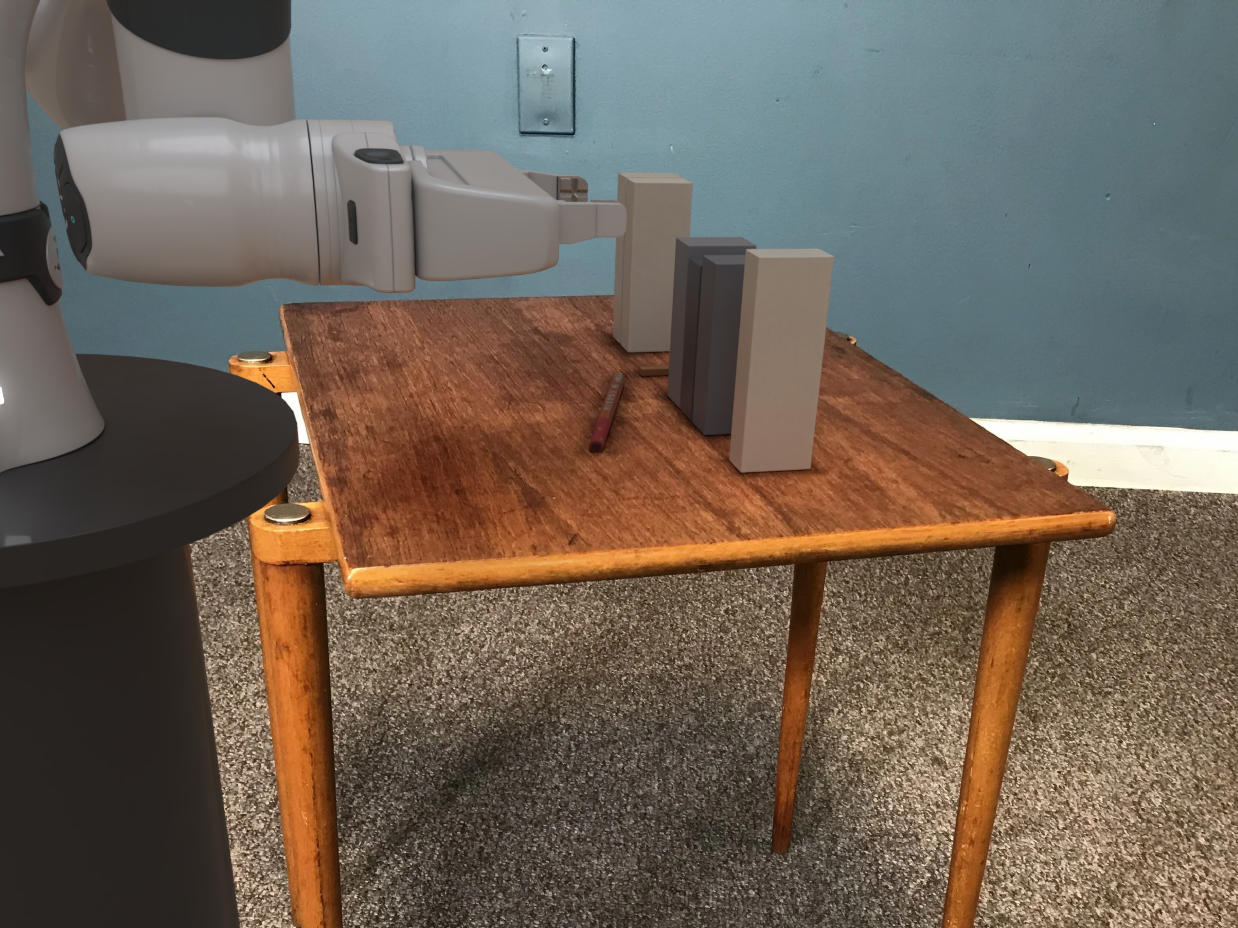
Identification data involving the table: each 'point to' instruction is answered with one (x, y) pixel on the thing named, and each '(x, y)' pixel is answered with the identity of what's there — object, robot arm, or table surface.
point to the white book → (779, 358)
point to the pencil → (606, 413)
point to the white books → (648, 260)
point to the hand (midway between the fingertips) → (603, 204)
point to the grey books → (706, 329)
